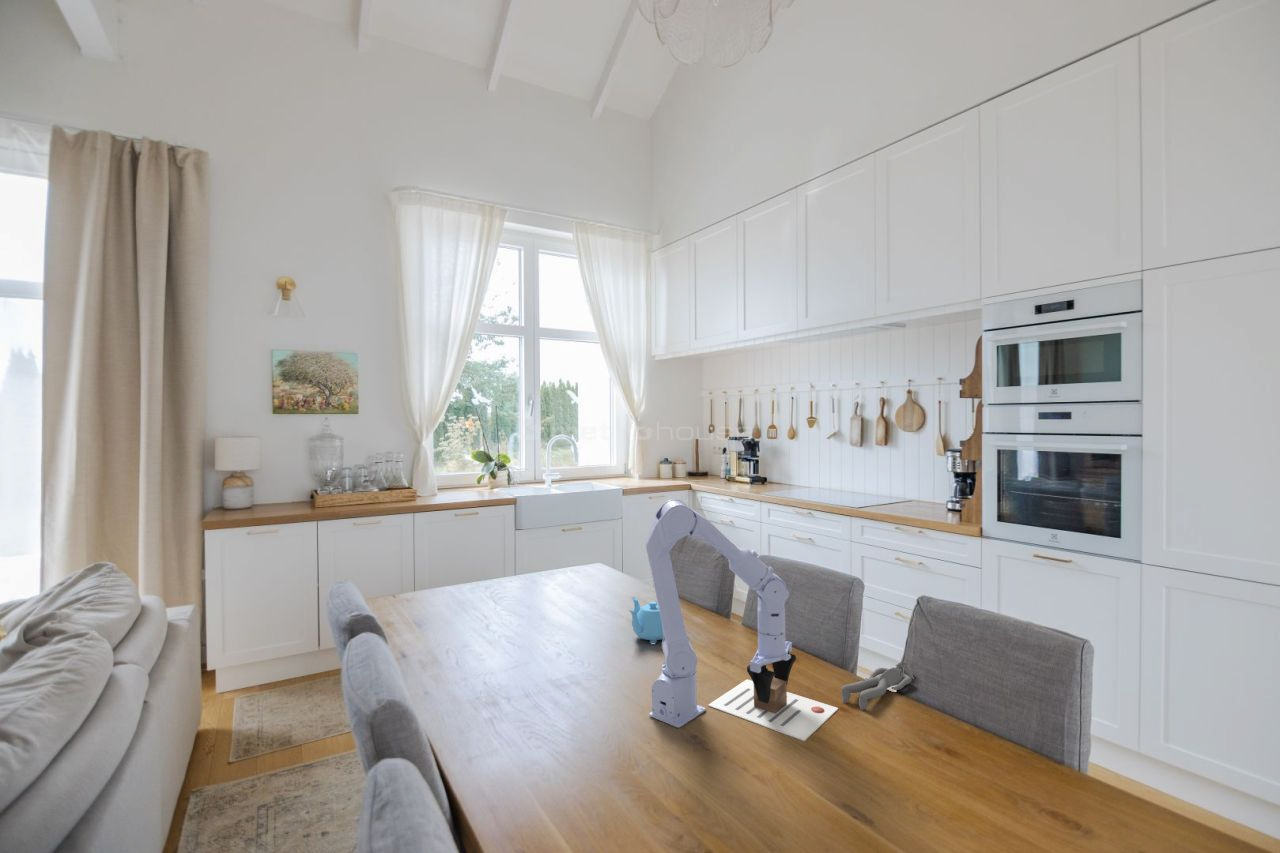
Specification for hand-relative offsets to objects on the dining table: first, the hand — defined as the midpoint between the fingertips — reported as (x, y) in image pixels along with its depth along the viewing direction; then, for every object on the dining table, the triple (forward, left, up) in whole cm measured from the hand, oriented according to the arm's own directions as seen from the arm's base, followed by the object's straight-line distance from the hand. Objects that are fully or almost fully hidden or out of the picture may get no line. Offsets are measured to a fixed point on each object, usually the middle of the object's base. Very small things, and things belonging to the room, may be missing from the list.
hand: (772, 694), depth 125 cm
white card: (0, 0, -3) cm, 3 cm away
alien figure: (+23, -15, +1) cm, 28 cm away
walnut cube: (0, 0, -2) cm, 3 cm away
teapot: (+15, +45, -3) cm, 48 cm away
